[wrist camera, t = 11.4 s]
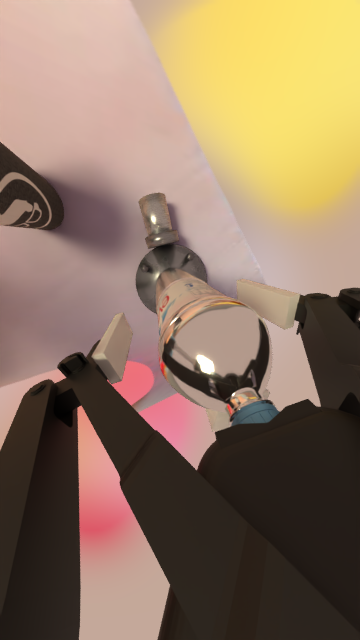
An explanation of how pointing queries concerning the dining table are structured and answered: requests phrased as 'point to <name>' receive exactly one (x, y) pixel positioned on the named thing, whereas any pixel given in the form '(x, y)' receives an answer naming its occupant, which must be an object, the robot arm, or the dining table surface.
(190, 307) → the water bottle
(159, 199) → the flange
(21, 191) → the coffee cup
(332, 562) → the robot arm
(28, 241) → the dining table surface
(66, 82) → the dining table surface
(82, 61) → the dining table surface
